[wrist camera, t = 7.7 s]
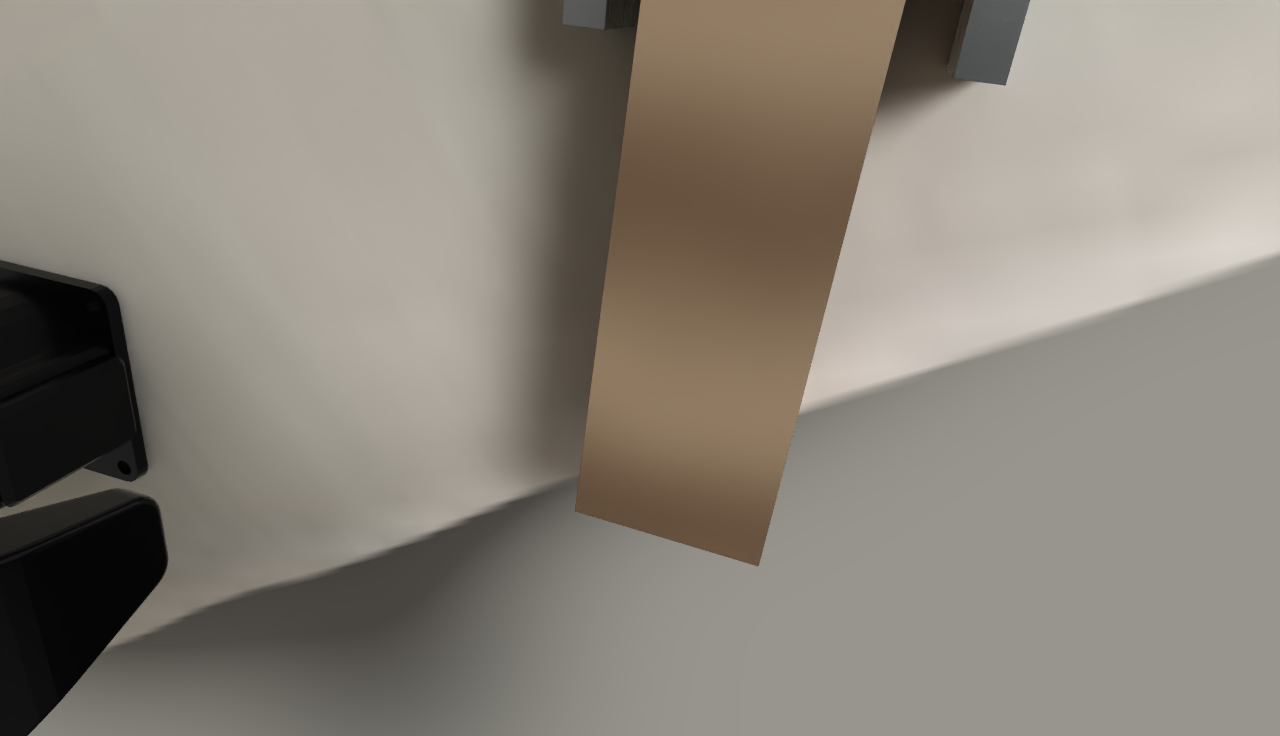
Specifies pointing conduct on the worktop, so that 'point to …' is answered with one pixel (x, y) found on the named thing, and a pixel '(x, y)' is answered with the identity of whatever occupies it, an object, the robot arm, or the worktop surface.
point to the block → (724, 255)
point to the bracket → (975, 53)
